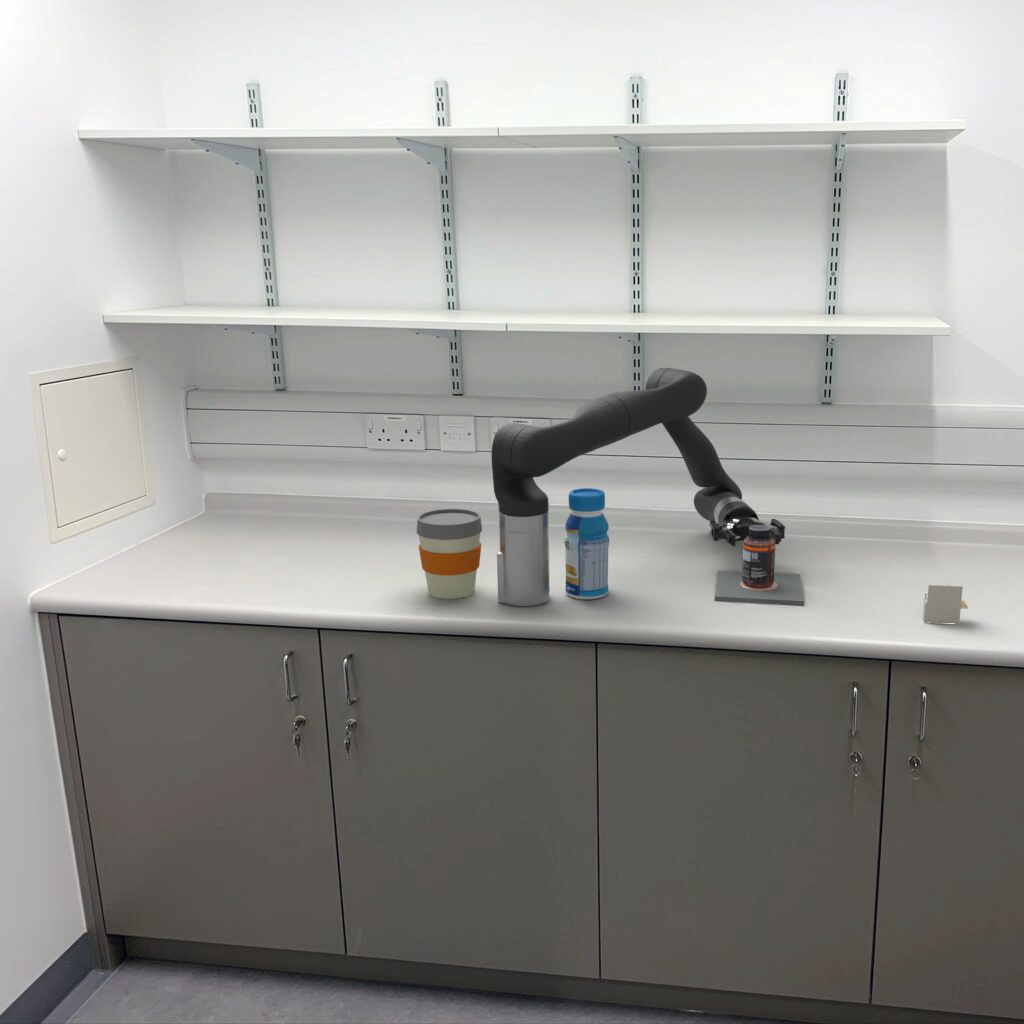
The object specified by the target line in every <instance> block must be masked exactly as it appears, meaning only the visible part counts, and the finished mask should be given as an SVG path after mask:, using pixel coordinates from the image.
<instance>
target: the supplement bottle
mask: <svg viewBox="0 0 1024 1024" xmlns="http://www.w3.org/2000/svg"><path fill="white" fill-rule="evenodd" d="M742 542H743V543H742V545H743V546H742V547H743V548H742V571H743V575H742V579H743V580H742V581H743V584H745V585H746V586H748V587H753V588H766V587H770V586H772V585H773V583H774V573H775V564H776V563H775V561H776V558H775V557H776V544H775V541H774V539H773V538H771V537H770V527H768V526H765V525H753V526H750V527H749V536H748V537H746V538H745V539H744V541H742Z"/></svg>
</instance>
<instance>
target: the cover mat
mask: <svg viewBox="0 0 1024 1024" xmlns="http://www.w3.org/2000/svg"><path fill="white" fill-rule="evenodd" d="M742 575H743V570H726V569H725V570H724V569H721V570H720V569H719V570H717V574H716V583H715V592H714V601H716V600H721V601H720V602H734V601H739V602H738V603H752V602H757V603H756V604H770V603H775V604H774V605H789V604H797V605H796V606H804V604H805V599H804V593H803V584H802V577H801V576H802V575H801V573H785V572H784V573H782V572H774V583H773V585H772V586H770V587H766V588H753V587H748V586H746V585H745V584H743V581H742V580H743V579H742ZM722 600H724V601H722ZM758 602H759V603H758ZM778 603H779V604H778Z"/></svg>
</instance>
